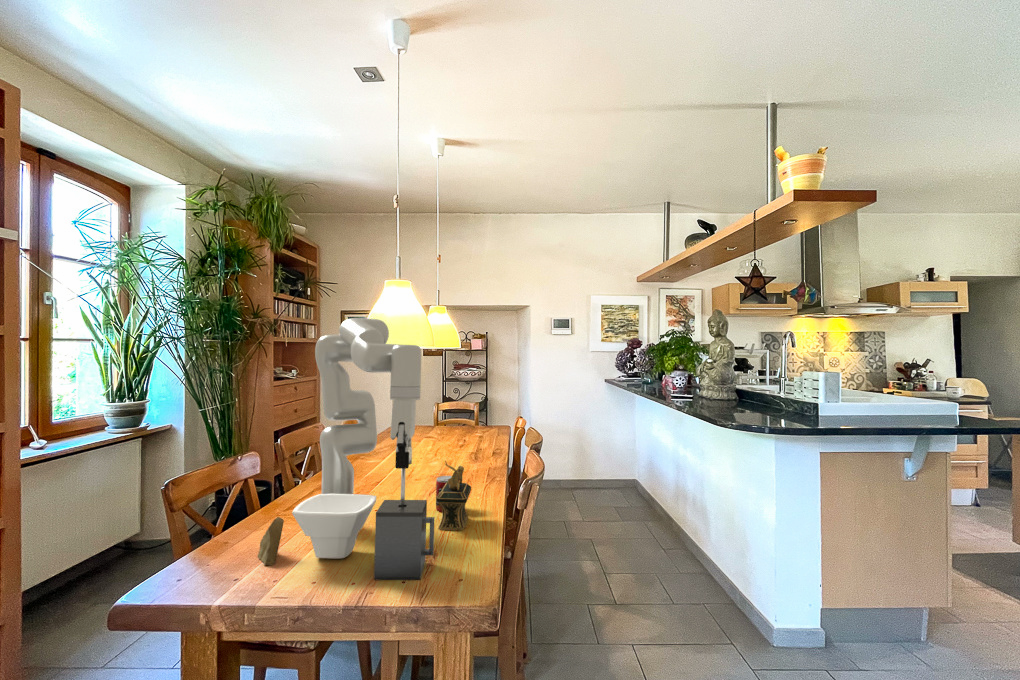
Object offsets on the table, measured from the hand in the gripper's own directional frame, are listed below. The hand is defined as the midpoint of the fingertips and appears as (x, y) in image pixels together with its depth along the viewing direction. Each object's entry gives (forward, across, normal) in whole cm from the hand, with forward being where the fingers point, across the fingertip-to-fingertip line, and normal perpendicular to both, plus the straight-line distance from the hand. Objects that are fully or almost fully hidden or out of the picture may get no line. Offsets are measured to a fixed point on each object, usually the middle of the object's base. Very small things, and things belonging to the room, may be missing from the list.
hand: (403, 465), depth 130 cm
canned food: (+26, -52, +8) cm, 59 cm away
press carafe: (+26, 0, +1) cm, 26 cm away
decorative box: (+26, -35, +11) cm, 45 cm away
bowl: (+26, -10, -19) cm, 34 cm away
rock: (+26, -8, -36) cm, 45 cm away
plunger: (+16, 0, 0) cm, 16 cm away
